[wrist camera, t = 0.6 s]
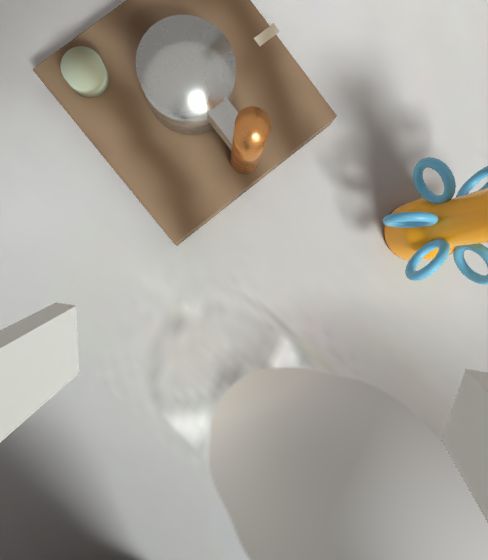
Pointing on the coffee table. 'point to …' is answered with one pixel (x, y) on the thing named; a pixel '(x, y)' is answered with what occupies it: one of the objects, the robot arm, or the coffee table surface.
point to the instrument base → (164, 142)
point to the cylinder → (440, 224)
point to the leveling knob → (199, 86)
